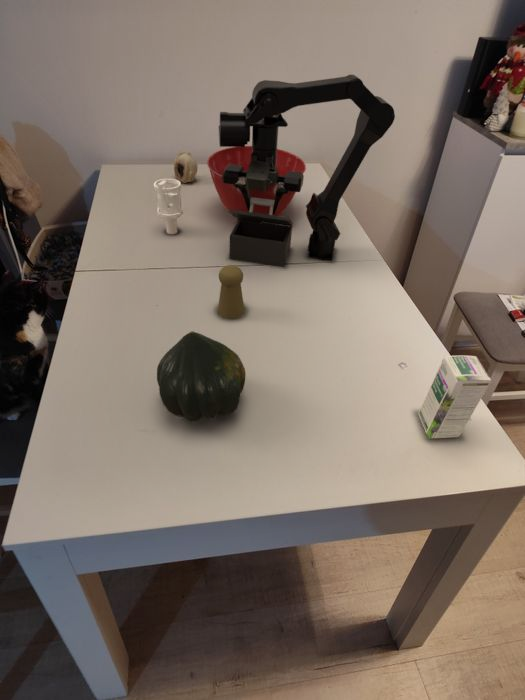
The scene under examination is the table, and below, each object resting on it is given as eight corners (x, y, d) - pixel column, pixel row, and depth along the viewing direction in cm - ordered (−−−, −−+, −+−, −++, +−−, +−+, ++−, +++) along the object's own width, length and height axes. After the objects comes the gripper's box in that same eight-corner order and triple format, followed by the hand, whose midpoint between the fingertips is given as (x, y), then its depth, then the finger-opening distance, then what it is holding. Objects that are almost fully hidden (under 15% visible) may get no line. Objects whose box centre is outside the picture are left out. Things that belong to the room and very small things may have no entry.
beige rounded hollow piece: (177, 183, 158) (171, 153, 154) (201, 179, 158) (195, 149, 154) (174, 185, 149) (167, 153, 145) (199, 181, 149) (193, 149, 145)
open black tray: (283, 267, 115) (286, 243, 111) (229, 258, 117) (229, 235, 113) (290, 249, 122) (292, 226, 118) (238, 241, 124) (238, 219, 120)
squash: (229, 433, 69) (241, 336, 68) (137, 419, 70) (148, 325, 70) (244, 419, 83) (254, 339, 83) (168, 408, 85) (177, 330, 84)
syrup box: (416, 413, 80) (441, 354, 71) (447, 412, 81) (477, 354, 71) (427, 439, 76) (456, 380, 66) (460, 438, 77) (493, 379, 67)
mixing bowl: (319, 220, 136) (326, 169, 126) (240, 243, 124) (241, 189, 113) (266, 187, 153) (269, 140, 143) (192, 205, 140) (189, 154, 130)
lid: (288, 220, 107) (291, 201, 107) (230, 212, 109) (232, 193, 109) (292, 226, 118) (295, 208, 117) (238, 218, 119) (241, 201, 119)
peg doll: (240, 320, 98) (241, 278, 91) (214, 316, 99) (213, 274, 91) (247, 305, 102) (248, 263, 95) (221, 301, 103) (220, 259, 96)
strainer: (154, 234, 125) (147, 181, 115) (167, 223, 130) (162, 172, 120) (176, 239, 124) (171, 186, 114) (189, 229, 128) (185, 177, 118)
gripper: (214, 153, 96) (216, 221, 106) (300, 162, 93) (293, 231, 104) (228, 138, 104) (228, 202, 114) (307, 146, 102) (300, 212, 112)
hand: (261, 212), depth 111 cm, fingers closed on lid, 6 cm apart
